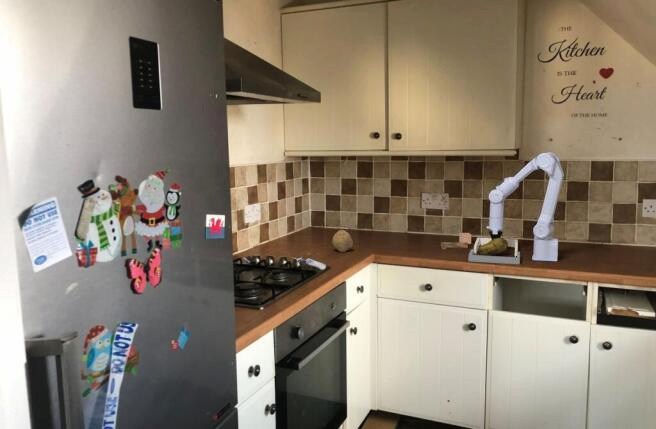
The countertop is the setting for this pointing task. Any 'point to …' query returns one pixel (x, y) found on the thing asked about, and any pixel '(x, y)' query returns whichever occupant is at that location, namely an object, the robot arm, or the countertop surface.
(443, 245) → the crook tool
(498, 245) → the potato
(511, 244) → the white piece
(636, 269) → the countertop surface
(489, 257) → the frame
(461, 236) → the terracotta block
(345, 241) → the natural sponge
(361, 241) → the countertop surface
